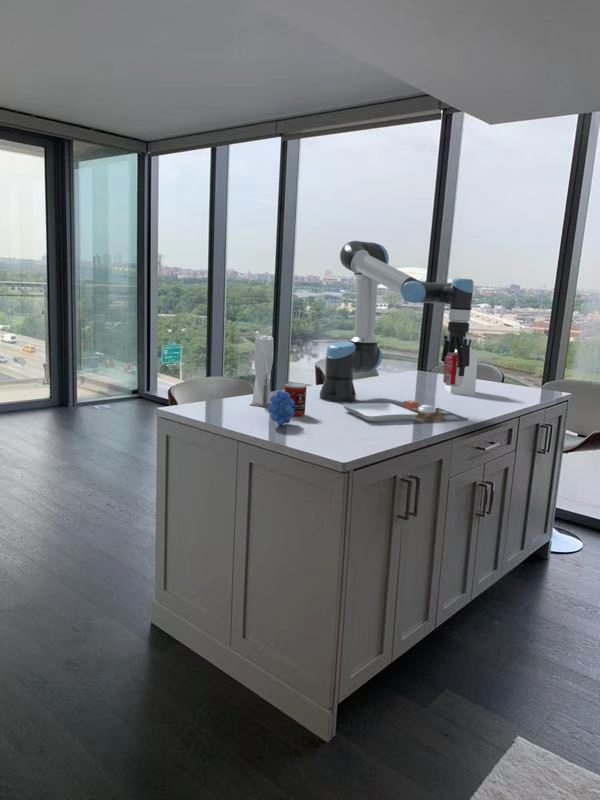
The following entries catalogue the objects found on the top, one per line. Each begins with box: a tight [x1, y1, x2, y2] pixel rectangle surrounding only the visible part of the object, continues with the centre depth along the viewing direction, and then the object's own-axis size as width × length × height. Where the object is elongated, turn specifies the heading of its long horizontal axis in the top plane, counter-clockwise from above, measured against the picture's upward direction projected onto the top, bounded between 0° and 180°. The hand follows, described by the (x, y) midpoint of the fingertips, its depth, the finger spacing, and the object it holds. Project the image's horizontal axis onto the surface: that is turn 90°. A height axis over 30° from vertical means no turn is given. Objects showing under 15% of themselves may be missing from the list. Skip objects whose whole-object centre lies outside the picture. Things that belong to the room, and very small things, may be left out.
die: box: [402, 400, 420, 410], centre depth 239 cm, size 4×4×4 cm
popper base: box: [410, 407, 445, 422], centre depth 229 cm, size 9×9×3 cm
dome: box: [418, 404, 437, 413], centre depth 229 cm, size 6×6×3 cm
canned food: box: [284, 382, 307, 418], centre depth 222 cm, size 8×8×11 cm
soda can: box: [443, 352, 462, 386], centre depth 229 cm, size 7×7×12 cm
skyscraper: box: [249, 330, 275, 408], centre depth 235 cm, size 8×8×28 cm
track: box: [435, 407, 469, 422], centre depth 237 cm, size 10×19×1 cm, turn 21°
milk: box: [444, 336, 478, 396], centre depth 289 cm, size 12×12×26 cm
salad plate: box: [342, 402, 418, 423], centre depth 228 cm, size 21×21×3 cm
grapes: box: [268, 390, 295, 426], centre depth 204 cm, size 12×7×12 cm, turn 137°
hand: (452, 382), depth 230 cm, fingers closed on soda can, 7 cm apart
